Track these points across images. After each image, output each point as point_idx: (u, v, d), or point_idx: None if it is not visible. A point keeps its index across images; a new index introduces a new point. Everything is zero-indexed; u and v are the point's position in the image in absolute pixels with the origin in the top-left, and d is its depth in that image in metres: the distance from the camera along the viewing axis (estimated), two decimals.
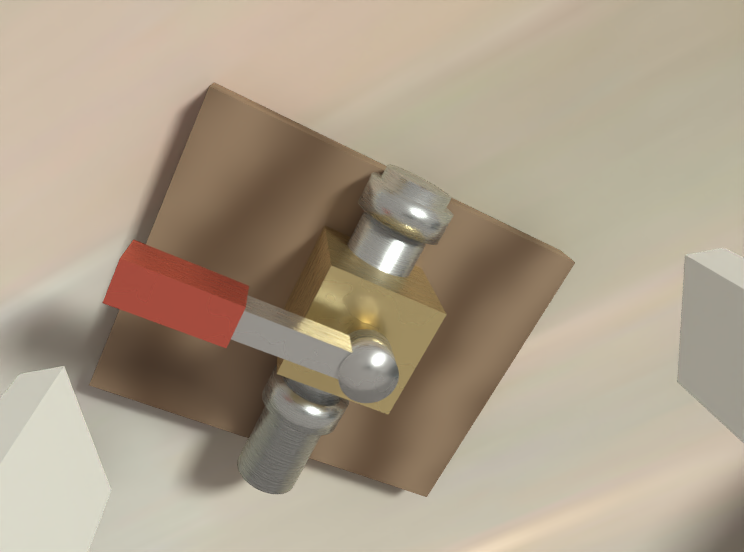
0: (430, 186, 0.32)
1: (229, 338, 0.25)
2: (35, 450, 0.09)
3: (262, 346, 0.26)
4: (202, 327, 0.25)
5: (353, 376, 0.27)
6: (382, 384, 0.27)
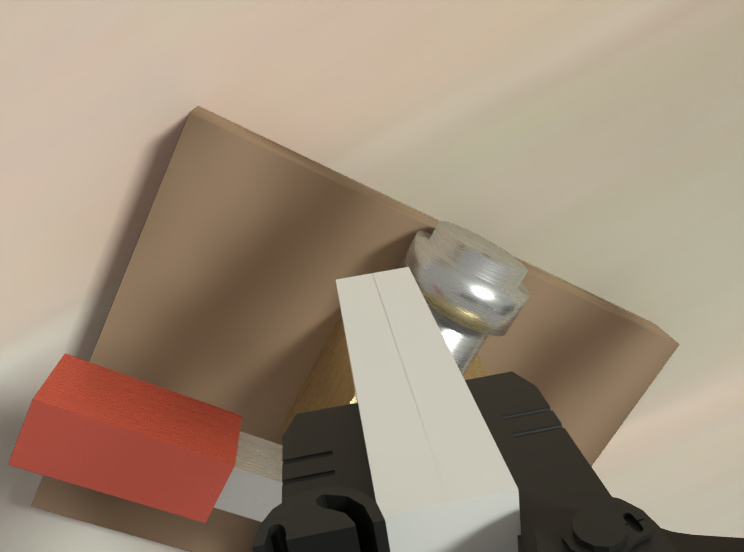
0: (497, 251, 0.23)
1: (210, 509, 0.16)
2: None
3: (260, 515, 0.17)
4: (167, 495, 0.16)
5: None
6: None
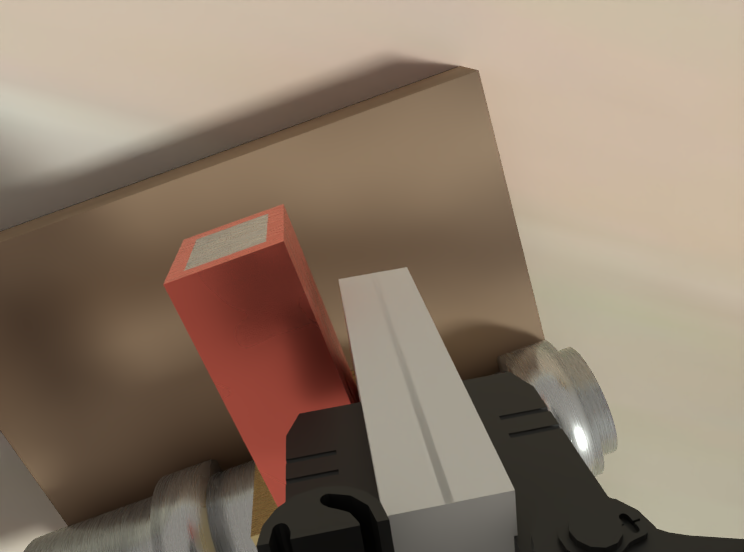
0: None
1: None
2: None
3: None
4: (282, 456, 0.11)
5: None
6: None
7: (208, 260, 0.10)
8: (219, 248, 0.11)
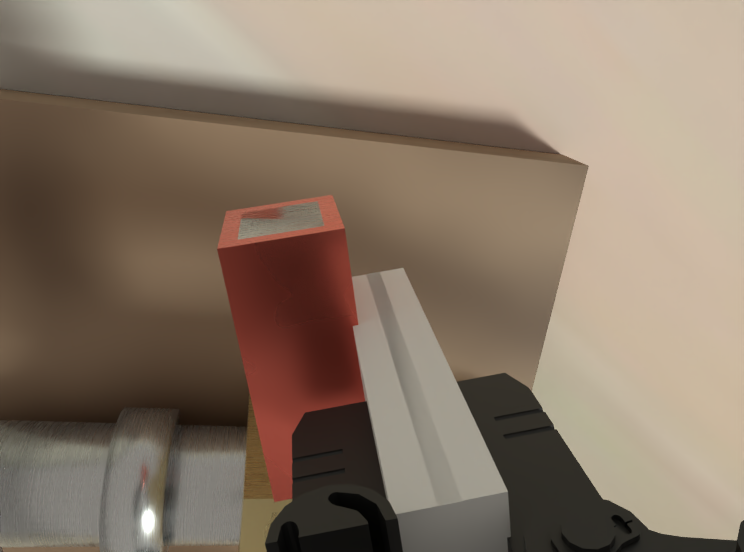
0: None
1: None
2: None
3: None
4: (290, 443, 0.11)
5: None
6: None
7: (262, 234, 0.10)
8: (272, 224, 0.11)
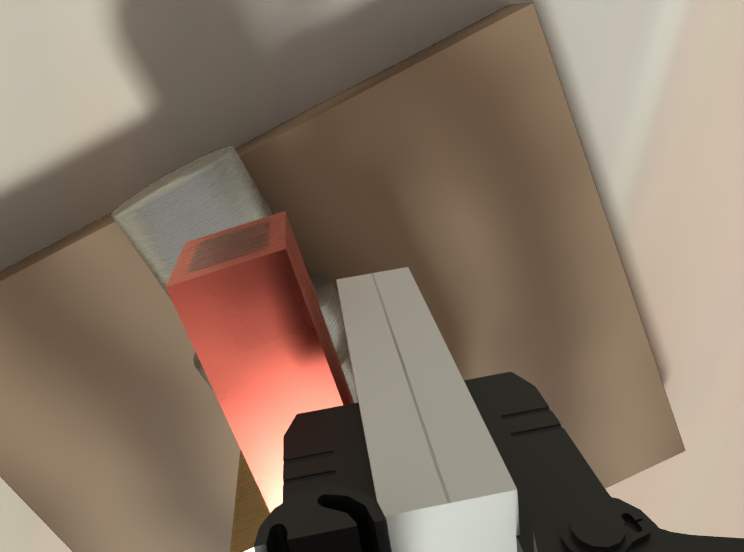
0: None
1: None
2: None
3: None
4: (276, 459, 0.11)
5: None
6: None
7: (210, 264, 0.10)
8: (221, 253, 0.11)
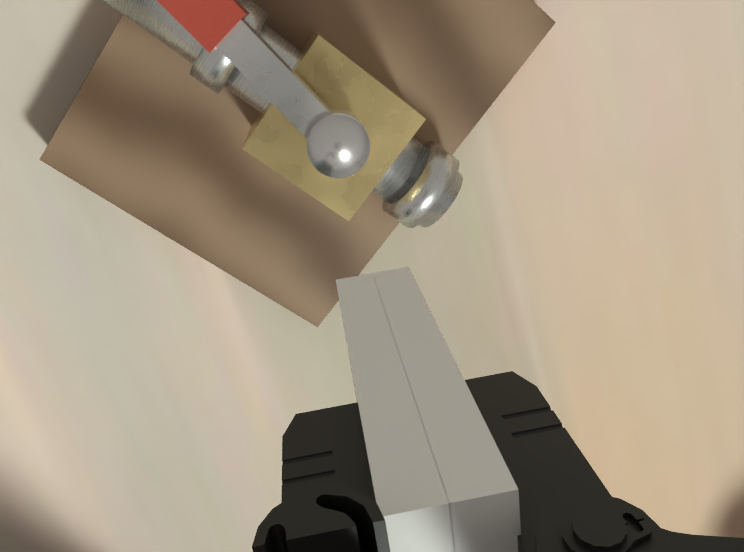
0: None
1: (216, 42, 0.24)
2: None
3: (245, 69, 0.24)
4: (193, 17, 0.23)
5: (324, 139, 0.26)
6: (349, 160, 0.26)
7: None
8: None
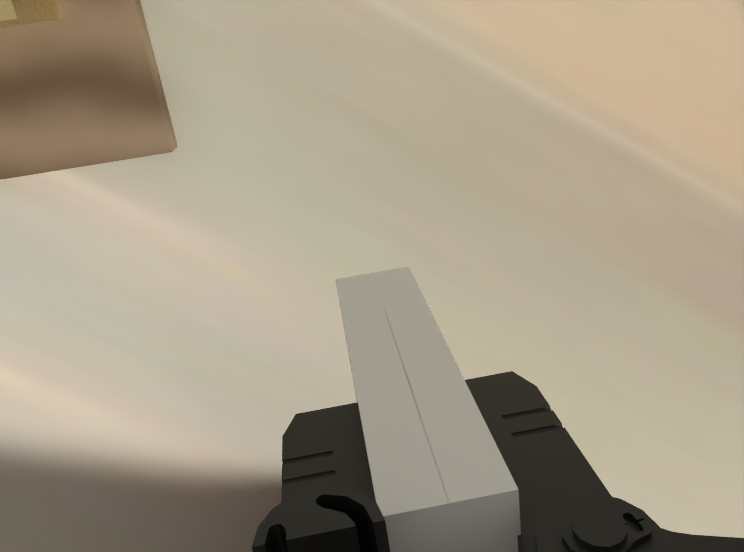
0: None
1: None
2: None
3: None
4: None
5: None
6: None
7: None
8: None
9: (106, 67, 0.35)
